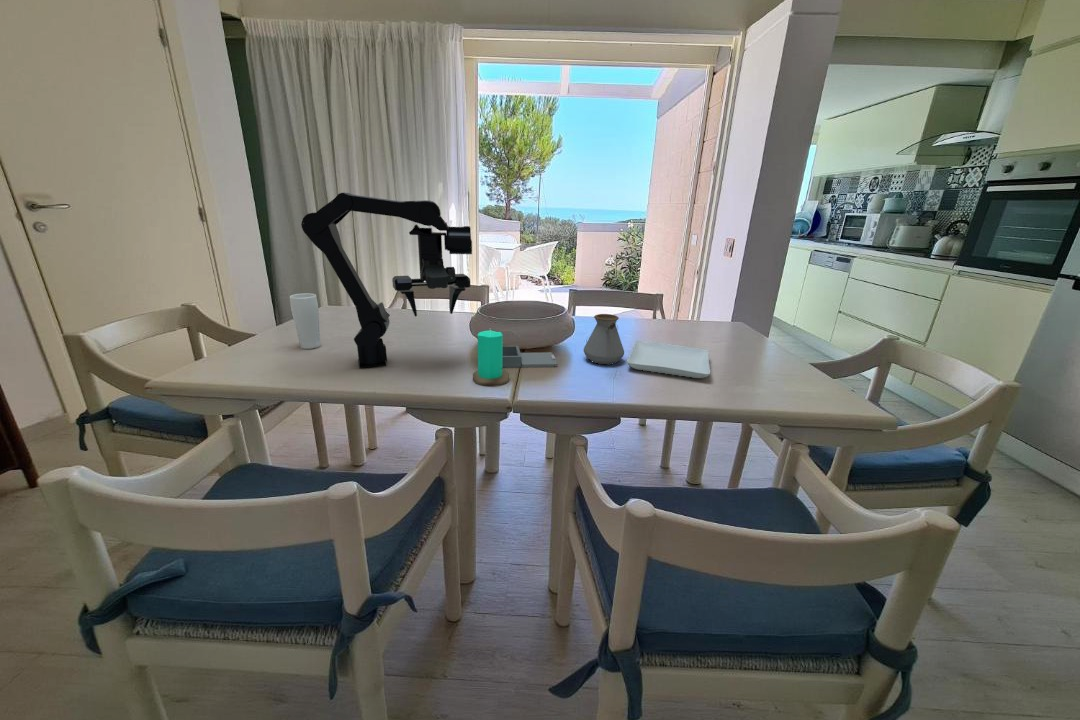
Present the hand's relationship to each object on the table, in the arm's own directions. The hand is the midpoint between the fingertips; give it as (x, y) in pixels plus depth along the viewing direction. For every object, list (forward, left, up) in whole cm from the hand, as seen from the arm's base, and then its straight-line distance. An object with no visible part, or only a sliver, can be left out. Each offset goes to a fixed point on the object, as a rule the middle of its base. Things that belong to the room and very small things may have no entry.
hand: (433, 314), depth 112 cm
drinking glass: (-31, +24, -13) cm, 41 cm away
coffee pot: (+42, -19, -13) cm, 48 cm away
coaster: (+10, -17, -13) cm, 24 cm away
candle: (+10, -17, -12) cm, 23 cm away
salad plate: (+60, -24, -14) cm, 66 cm away
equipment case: (+22, -7, -13) cm, 26 cm away
